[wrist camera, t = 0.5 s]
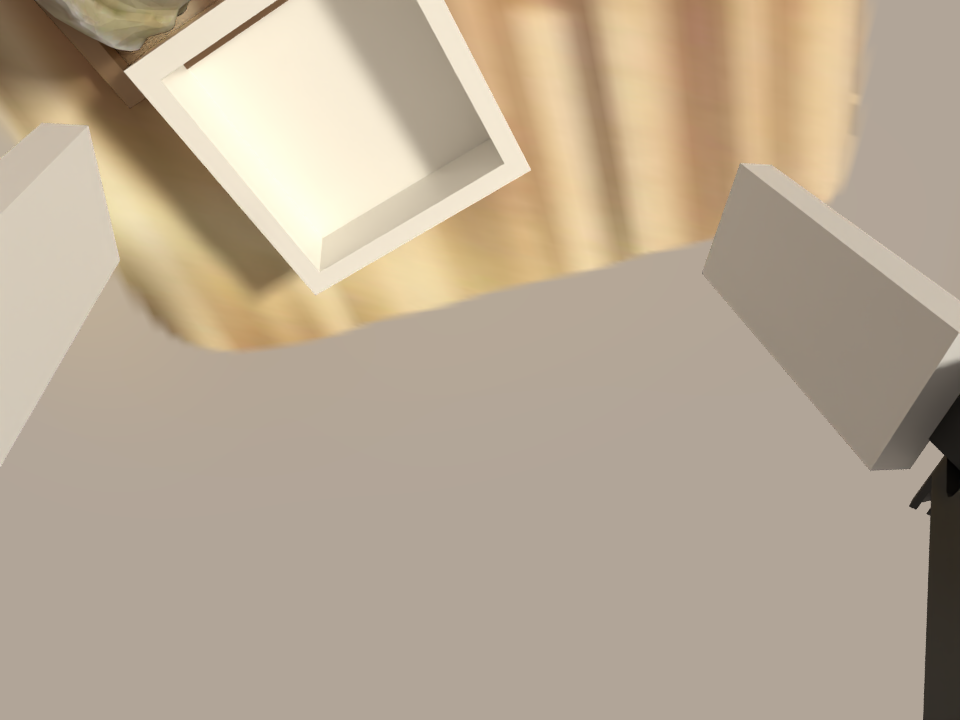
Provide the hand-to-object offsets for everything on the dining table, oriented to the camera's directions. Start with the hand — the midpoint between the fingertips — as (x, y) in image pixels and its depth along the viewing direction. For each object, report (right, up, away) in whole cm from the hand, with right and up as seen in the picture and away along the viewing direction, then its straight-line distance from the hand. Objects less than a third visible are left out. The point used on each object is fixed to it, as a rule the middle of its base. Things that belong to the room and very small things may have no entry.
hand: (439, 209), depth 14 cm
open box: (-6, +10, +20) cm, 23 cm away
